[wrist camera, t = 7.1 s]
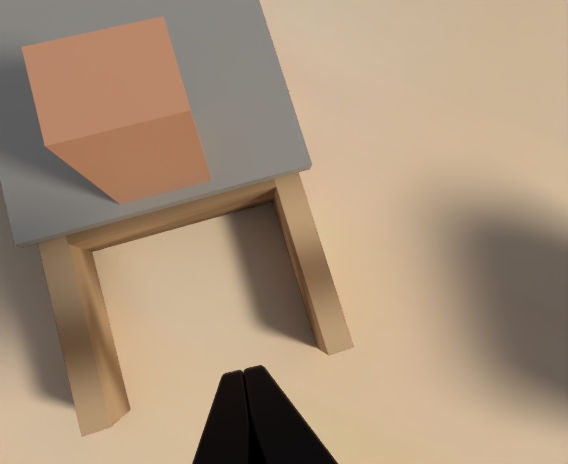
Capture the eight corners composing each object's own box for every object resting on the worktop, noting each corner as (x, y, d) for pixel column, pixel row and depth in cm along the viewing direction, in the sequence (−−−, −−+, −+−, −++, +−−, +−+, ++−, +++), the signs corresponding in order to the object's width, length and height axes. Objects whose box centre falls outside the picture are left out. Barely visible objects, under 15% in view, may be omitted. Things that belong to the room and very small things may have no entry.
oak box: (340, 341, 22) (354, 347, 19) (105, 418, 21) (81, 436, 18) (232, -1, 25) (230, -42, 22) (17, 46, 24) (-16, 9, 21)
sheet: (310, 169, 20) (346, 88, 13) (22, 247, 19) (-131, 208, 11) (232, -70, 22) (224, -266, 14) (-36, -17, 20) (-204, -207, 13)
